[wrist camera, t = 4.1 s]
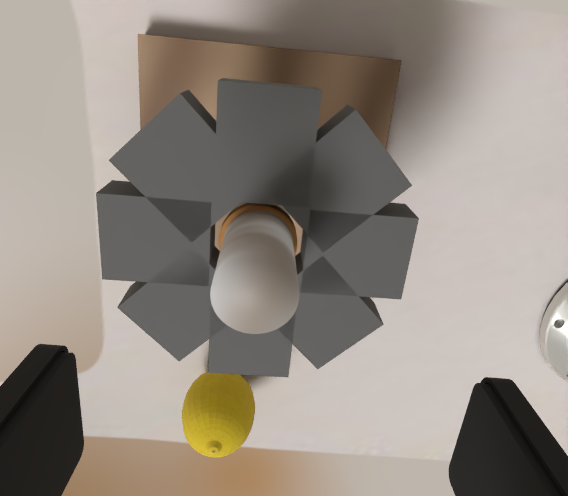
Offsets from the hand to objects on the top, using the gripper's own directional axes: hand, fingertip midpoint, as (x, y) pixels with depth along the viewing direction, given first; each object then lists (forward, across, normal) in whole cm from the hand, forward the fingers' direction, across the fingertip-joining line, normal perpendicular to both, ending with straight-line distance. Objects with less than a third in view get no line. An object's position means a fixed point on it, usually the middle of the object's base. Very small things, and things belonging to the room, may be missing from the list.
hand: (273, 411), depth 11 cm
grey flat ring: (+11, +1, 0) cm, 11 cm away
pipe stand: (+23, +1, 0) cm, 23 cm away
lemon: (+23, +3, +18) cm, 29 cm away
